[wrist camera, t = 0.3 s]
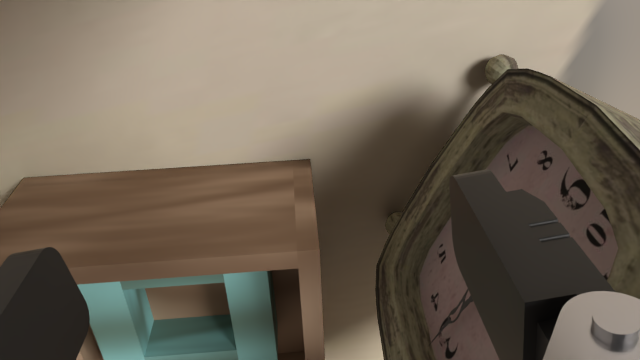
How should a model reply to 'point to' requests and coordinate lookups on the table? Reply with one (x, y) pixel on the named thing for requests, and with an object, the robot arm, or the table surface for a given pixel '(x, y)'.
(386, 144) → the table surface
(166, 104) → the table surface
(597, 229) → the tabletop clock
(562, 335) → the robot arm
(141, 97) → the table surface
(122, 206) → the walled box
